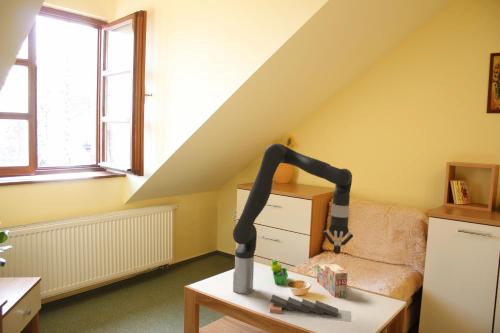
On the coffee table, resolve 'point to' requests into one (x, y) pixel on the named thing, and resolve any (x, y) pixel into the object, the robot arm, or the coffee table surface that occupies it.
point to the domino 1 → (275, 308)
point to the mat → (341, 315)
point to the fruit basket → (279, 272)
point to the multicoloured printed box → (332, 279)
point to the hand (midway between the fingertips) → (336, 253)
